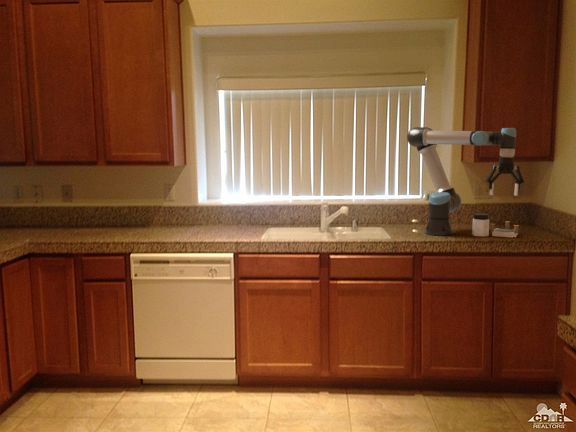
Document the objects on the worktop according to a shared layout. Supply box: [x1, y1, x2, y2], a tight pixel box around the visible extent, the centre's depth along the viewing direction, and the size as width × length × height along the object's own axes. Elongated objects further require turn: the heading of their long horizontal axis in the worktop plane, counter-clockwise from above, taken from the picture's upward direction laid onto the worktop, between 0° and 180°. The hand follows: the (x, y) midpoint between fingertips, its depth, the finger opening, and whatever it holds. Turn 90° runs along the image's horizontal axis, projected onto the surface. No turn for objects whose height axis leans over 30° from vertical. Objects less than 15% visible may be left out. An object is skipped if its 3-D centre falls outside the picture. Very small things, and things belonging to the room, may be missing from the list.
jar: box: [471, 212, 490, 238], centre depth 283 cm, size 9×8×12 cm
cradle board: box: [489, 220, 520, 238], centre depth 284 cm, size 15×16×7 cm
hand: (503, 195), depth 278 cm, fingers open, 13 cm apart
